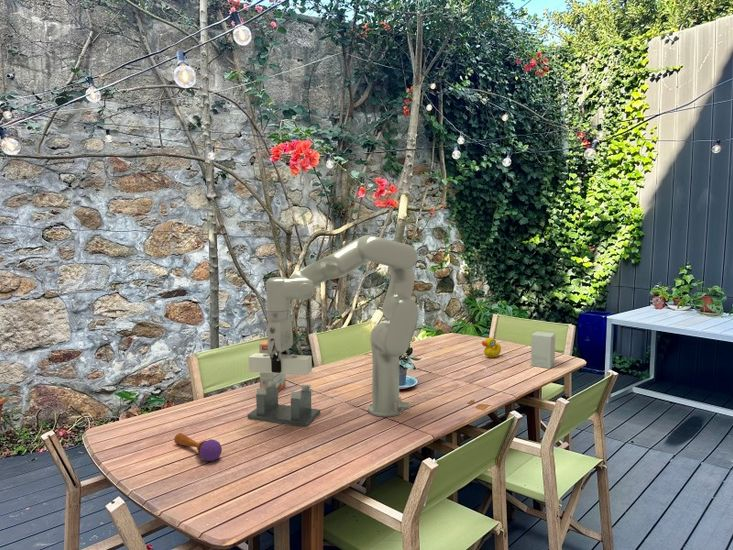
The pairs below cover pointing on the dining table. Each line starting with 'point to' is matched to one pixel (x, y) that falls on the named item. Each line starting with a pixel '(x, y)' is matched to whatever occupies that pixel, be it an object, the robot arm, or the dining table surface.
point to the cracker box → (271, 376)
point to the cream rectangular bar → (288, 364)
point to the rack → (284, 406)
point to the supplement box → (543, 349)
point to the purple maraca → (201, 447)
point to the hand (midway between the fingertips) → (280, 369)
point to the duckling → (491, 348)
